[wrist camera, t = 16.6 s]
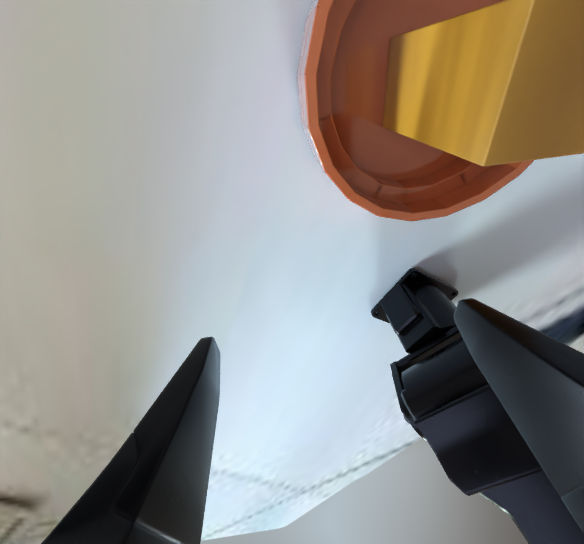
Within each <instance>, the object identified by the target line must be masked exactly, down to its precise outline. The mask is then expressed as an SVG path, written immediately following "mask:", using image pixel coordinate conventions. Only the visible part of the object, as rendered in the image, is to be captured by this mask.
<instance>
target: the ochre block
mask: <svg viewBox="0 0 584 544" xmlns="http://www.w3.org/2000/svg"><path fill="white" fill-rule="evenodd" d="M383 127H384V128H386V129H389V130H391V131H394V132H396V133H399V134H402V135H404V136H407V137H409V138H412V139H414V140H417V141H419V142H422V143H424V144H427V145H430V146H432V147H435V148H437V149H440V150H442V151H445V152H447V153H450V154H453V155H455V156H458V157H460V158H463V159H465V160H468V161H470V162H473V163H475V164H478V165H481V166H483V167H484V166H491V165H499V164H506V163H514V162H522V161H529V160H537V159H544V158H552V157H560V156H567V155H575V154H582V153H584V0H503V1H500V2H497V3H494V4H491V5H488V6H485V7H482V8H479V9H476V10H473V11H470V12H467V13H464V14H461V15H458V16H455V17H452V18H449V19H446V20H443V21H440V22H437V23H434V24H431V25H428V26H425V27H421V28H418V29H415V30H412V31H409V32H406V33H403V34H400V35H397V36H394V37H391V38H390V45H389V57H388V68H387V80H386V92H385V104H384V116H383Z"/></svg>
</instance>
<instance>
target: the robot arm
mask: <svg viewBox="0 0 584 544" xmlns="http://www.w3.org/2000/svg"><path fill="white" fill-rule="evenodd" d="M413 273H414V274H413ZM412 274H413V275H412ZM457 295H458V291H457V290H456V289H455V288H454V287H452V286H450V285H448V284H446V283H444V282H442V281H440V280H438V279H436V278H434V277H432V276H430V275H428V274H426V273H424V272H422V271H420V270H418V269H415V268H412V269H410V270H409V271H408V272H407V273H406V274H405V275H404V276H403V277H402V278H401V279H400V280H399V281H398V282H397V283H396V285H395V286H394V287H393V288H392V289H391V290H390V291H389V292H388V293H387V294H386V295H385V296H384V297H383V299H382V300H381V301H380V302H379V303H378V304H377V305H376V306H375V307H374V308H373V309H372V311H371V314H372V316H373V317H375V318H377V319H380V320H382V321H385V322H388V323H390V324H391V326H392V327H393V329H394V331H395V333H396V334H397V336H398V337H399V339H400V341H401V343H402V345H403V347H404V349H405V351H406V352H407V353H408V355H407V356H405V357H404V358H402V359H400V360H399V361H397V362H396V361H395V362H393V363H392V364H390V366H391V370H392V376H393V380H394V384H395V388H396V392H397V396H398V400H399V404H400V408H401V411H402V413H403V414H404V418H405V420H406V421H407V422H408V423H410V424H411V425H412V427H413V428H414V430H415V431H416V432H417V433H418V434H419V435H420V436H421V437H422V438H423V439H425V440H427V442H428V443H429V445H430V446H431V448H432V449H433V451H434V452H435V454H436V456H437V458H438V460H439V461H440V463H441V465H442V467H443V469H444V471H445V472H446V474H447V476H448V478H449V479H450V481H451V482H452V483H453V484H455V485H456V486H457V487H458V488H459V489H460V490H461V491H462V492H463V493H465V494H466V495H468V496H470V495H473V494H476V493H479V494H481V495H482V496H484V497H485V498H487V499H488V500H489V501H491V502H492V503H493V504H495V505H496V506H498V507H499V508H501V509H502V510H503V511H505V512H506V513H508V515H509V516H510V517H511V518H512V520H513V521H514V523H515V524H516V525H517V527H518V528H519V530H520V531H521V533H522V534H523V536H524V537H525V539H526V540H527V541H528V543H529V544H584V354H583V353H581V352H579V351H577V350H575V349H573V348H571V347H569V346H567V345H565V344H563V343H561V342H559V341H557V340H555V339H553V338H551V337H549V336H547V335H545V334H543V333H541V332H539V331H537V330H535V329H533V328H531V327H529V326H527V325H525V324H523V323H521V322H519V321H517V320H515V319H513V318H511V317H509V316H507V315H505V314H503V313H501V312H499V311H497V310H495V309H493V308H491V307H489V306H487V305H485V304H483V303H481V302H479V301H477V300H475V299H472V298H469V299H462V300H460V301H459V303H458V305H457V307H456V306H455V305H454V304H453V303H452V301H451V300H452V299H453V298H455V297H456V296H457ZM376 312H377V313H376ZM219 394H220V351H219V349H218V346H217V344H216V342H215V339H214V338H213V337H206V338H202V339H200V341H199V342H198V343H197V345H196V346H195V347H194V349H193V350H192V351H191V353H190V354H189V356H188V357H187V358H186V360H185V361H184V362H183V364H182V365H181V366H180V368H179V369H178V371H177V372H176V373H175V375H174V376H173V377H172V379H171V380H170V382H169V383H168V384H167V386H166V387H165V388H164V390H163V391H162V392H161V394H160V395H159V397H158V398H157V399H156V401H155V402H154V403H153V405H152V406H151V407H150V409H149V410H148V412H147V413H146V414H145V416H144V417H143V418H142V420H141V421H140V422H139V424H138V425H137V427H136V428H135V429H134V433H131V435H130V436H129V437H128V439H127V440H126V441H125V443H124V444H123V445H122V447H121V448H120V449H119V451H118V452H117V453H116V455H115V456H114V457H113V459H112V460H111V461H110V463H109V464H108V465H107V466H106V468H105V469H104V470H103V471H102V472H101V474H100V475H99V476H98V477H97V478H96V480H95V481H94V482H93V483H92V485H91V486H90V487H89V488H88V489H87V490H86V492H85V493H84V494H83V495H82V496H81V498H80V499H79V500H78V501H77V502H76V503H75V505H74V506H73V507H72V508H71V509H70V511H69V512H68V513H67V514H66V515H65V516H64V518H63V519H62V520H61V521H60V522H59V524H58V525H57V526H56V527H55V528H54V529H53V531H52V532H51V533H50V534H49V535H48V536H47V538H46V539H45V540H44V541H43V542H42V543H41V544H200V541H201V534H202V526H203V519H204V511H205V504H206V496H207V489H208V481H209V473H210V466H211V458H212V451H213V443H214V436H215V428H216V421H217V413H218V406H219Z"/></svg>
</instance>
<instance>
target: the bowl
mask: <svg viewBox="0 0 584 544" xmlns="http://www.w3.org/2000/svg"><path fill="white" fill-rule="evenodd" d="M500 1H503V0H314V2H313V5H312V7H311V9H310V12H309V14H308V16H307V19H306V23H305V29H304V35H303V41H302V47H301V53H300V59H299V65H298V71H297V82H298V93H299V104H300V115H301V121H302V125H303V128H304V130H305V133H306V135H307V138H308V141H309V143H310V146H311V148H312V151H313V153H314V156H315V158H316V160H317V161H318V162H319V164H320V165H321V167H322V168H323V170H324V171H325V173H326V174H327V175H328V176H329V178H330V179H331V180H332V181H333V182H334V183H335V185H336V186H337V187H338V188H339V189H340V191H341V192H342V193H343V194H344V195H345V197H346V198H347V199H349V200H350V201H351V202H353V203H355V204H357V205H359V206H360V207H362V208H364V209H366V210H368V211H369V212H371V213H373V214H375V215H377V216H380V217H387V218H393V219H399V220H406V221H417V220H423V219H430V218H437V217H443V216H448V215H450V214H452V213H455V212H457V211H459V210H462V209H464V208H466V207H469V206H471V205H474V204H476V203H478V202H481V201H483V200H485V199H486V198H488V197H489V196H490V195H492V194H493V193H495V192H496V191H498V190H499V189H500V188H502V187H503V186H505V185H506V184H508V183H509V182H510V181H512V180H513V179H515V178H516V177H518V176H519V175H520V174H521V173H522V172H523V171H524V170H525V169H526V168H527V167H528V166H529V165H530V164H531V163H532V162H533V161H534V160H529V161H522V162H514V163H506V164H499V165H491V166H484V167H483V166H481V165H478V164H475V163H473V162H470V161H468V160H465V159H463V158H460V157H458V156H455V155H453V154H450V153H447V152H445V151H442V150H440V149H437V148H435V147H432V146H430V145H427V144H424V143H422V142H419V141H417V140H414V139H412V138H409V137H407V136H404V135H402V134H399V133H396V132H394V131H391V130H389V129H386V128H384V127H383V116H384V104H385V92H386V80H387V68H388V57H389V45H390V38H391V37H394V36H397V35H400V34H403V33H406V32H409V31H412V30H415V29H418V28H421V27H425V26H428V25H431V24H434V23H437V22H440V21H443V20H446V19H449V18H452V17H455V16H458V15H461V14H464V13H467V12H470V11H473V10H476V9H479V8H482V7H485V6H488V5H491V4H494V3H497V2H500Z"/></svg>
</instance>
